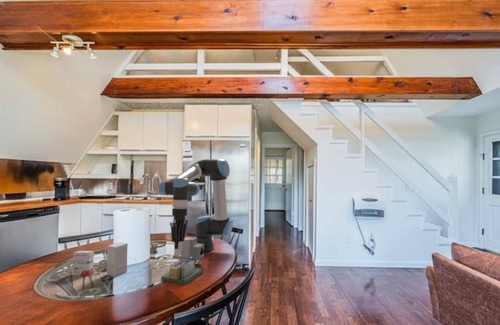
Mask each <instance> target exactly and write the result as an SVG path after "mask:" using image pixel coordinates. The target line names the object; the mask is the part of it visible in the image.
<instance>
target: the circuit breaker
mask: <svg viewBox="0 0 500 325" xmlns="http://www.w3.org/2000/svg"><path fill="white" fill-rule="evenodd" d="M183 240H184V241H182V252H181V255H179V256H180V257H187V256H188V257H194V260H191V261H195V264H196V263H197V261H199V260H201V259H202V258H204V254H205V253H206V251H205V250H204V244H197V237H196V236H185V239H183ZM179 260H183V263H185V261H186V260H188V259H178V261H179Z"/></svg>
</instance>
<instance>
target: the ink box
mask: <svg viewBox="0 0 500 325" xmlns="http://www.w3.org/2000/svg"><path fill="white" fill-rule="evenodd" d="M72 255H73V256H72V276H84V277H85V276H87V277H89V276H90V275H91V274H93V273H94V261H95V260H94V259H95V258H94V256H95V251H94V250H77V251H75V252H73V254H72Z"/></svg>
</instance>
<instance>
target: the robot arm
mask: <svg viewBox="0 0 500 325" xmlns="http://www.w3.org/2000/svg"><path fill="white" fill-rule="evenodd" d="M230 169H231V168H230V165H229V162H228V161H227V159H223V158H222V159H219V158H218V159H217V158H213V159H209V158H206V159H201V160H198V161H196V162H194V163H192V164H190V165H189V166H188V168H187V169H186V170H184V171H183V172H181V173H180V174H178V175H176V176H175V177H173V178H172V179H169V180H168V181H166V180H165V181H161V182H160V183H159V184H158V192H159V194H160V195H163V196H164V195H165V196H172V209H171V215H172V216H173V221H172V222H169V225H170V232H171V233H170V234H171V235H170V236H171V242H172V243H174V248H173V249H174V251H173V255H178V256H180V255H181V252H182V241H184V240H183V239H185V237H186V233H187V225H188V223H189V221H188V220H187V219H186V216H188V205H189V204H188V202H189V198H188V197H193V196H194V197H195V196H196V195H199V193H200V189H201V188H200V186H199V183H197V182H194V181H193V180H195V179H198V178H200V177H209V180H210V181H211V182H212V195H213V208H214V215H204V216H203V215H202V216H199V217H196V219H195V237H197V244H204V250H205V252H211V251H213V250H214V249H215V245H214V240H213V236H218V237H220V236H221V237H229V236H230V235H231V233H232V230H233V225H234V222H233V219H231V218H230V214H228V210H227V209H228V208H227V207H228V206H227V194H226V181H227V179H228V177H229V175H230Z"/></svg>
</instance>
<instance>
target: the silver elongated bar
mask: <svg viewBox="0 0 500 325" xmlns="http://www.w3.org/2000/svg"><path fill="white" fill-rule="evenodd" d="M172 259H175V260H179V259H188V260H194V257H188V256H187V257H180V255H179V256H178V255H174V254H173V255H172Z"/></svg>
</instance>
